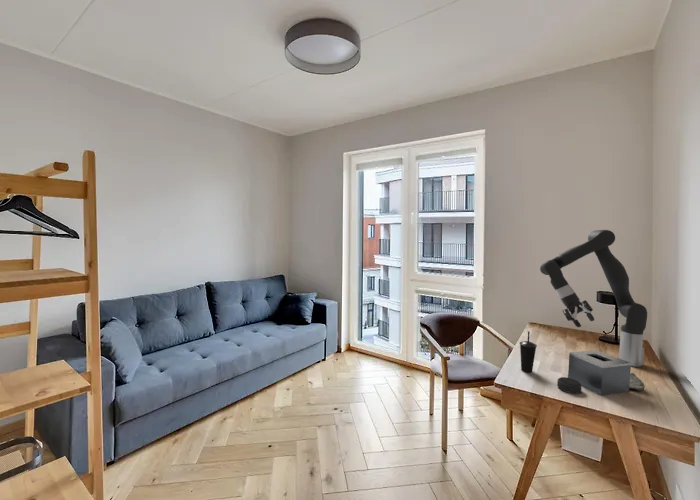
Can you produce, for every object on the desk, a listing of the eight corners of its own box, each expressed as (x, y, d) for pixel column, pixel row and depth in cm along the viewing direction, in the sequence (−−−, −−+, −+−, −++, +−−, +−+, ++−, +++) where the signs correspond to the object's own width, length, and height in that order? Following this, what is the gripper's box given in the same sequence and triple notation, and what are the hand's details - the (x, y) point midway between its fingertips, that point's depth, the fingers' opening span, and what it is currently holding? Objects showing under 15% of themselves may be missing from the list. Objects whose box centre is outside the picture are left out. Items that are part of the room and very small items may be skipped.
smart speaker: (554, 389, 148) (555, 380, 148) (560, 383, 155) (560, 374, 154) (578, 396, 142) (578, 387, 142) (583, 390, 148) (583, 381, 148)
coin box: (594, 376, 163) (595, 350, 162) (628, 391, 147) (631, 362, 147) (567, 379, 159) (569, 352, 158) (600, 395, 143) (602, 365, 142)
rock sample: (609, 374, 156) (628, 365, 153) (617, 382, 158) (636, 374, 155) (623, 393, 147) (644, 384, 144) (632, 401, 149) (652, 393, 146)
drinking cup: (533, 369, 170) (535, 330, 169) (536, 375, 163) (539, 334, 161) (517, 366, 172) (519, 328, 171) (519, 372, 165) (521, 332, 164)
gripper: (561, 298, 171) (580, 327, 166) (582, 288, 174) (602, 317, 168) (551, 301, 178) (570, 330, 172) (573, 292, 181) (591, 320, 175)
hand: (586, 323), depth 170 cm, fingers open, 8 cm apart
